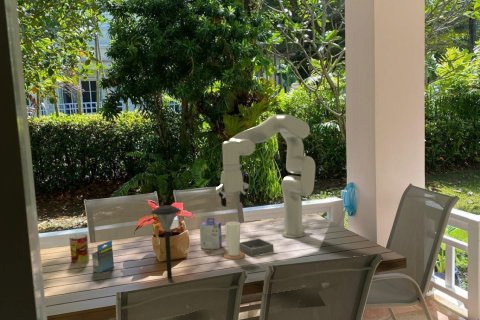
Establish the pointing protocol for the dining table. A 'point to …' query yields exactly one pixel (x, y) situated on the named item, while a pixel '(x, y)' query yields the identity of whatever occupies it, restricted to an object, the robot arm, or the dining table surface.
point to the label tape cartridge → (103, 257)
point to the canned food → (79, 248)
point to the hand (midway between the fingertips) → (233, 204)
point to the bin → (264, 248)
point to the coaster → (234, 256)
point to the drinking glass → (233, 238)
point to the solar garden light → (166, 229)
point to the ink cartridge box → (210, 234)
